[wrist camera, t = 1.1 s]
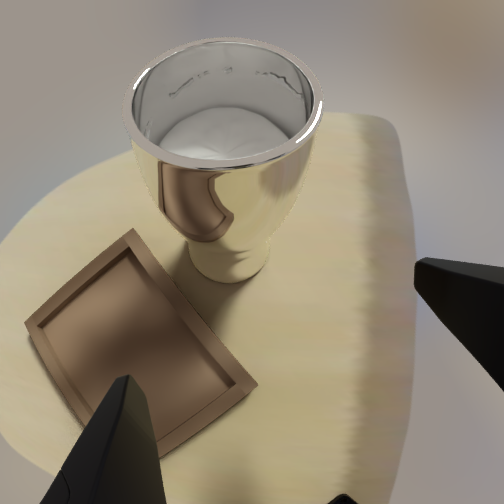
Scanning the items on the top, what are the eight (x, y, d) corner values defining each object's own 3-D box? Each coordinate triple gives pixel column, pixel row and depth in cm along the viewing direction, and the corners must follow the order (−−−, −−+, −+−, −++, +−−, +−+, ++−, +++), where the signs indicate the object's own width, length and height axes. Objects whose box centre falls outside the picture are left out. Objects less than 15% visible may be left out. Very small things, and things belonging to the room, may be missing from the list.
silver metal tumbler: (202, 304, 21) (138, 215, 7) (171, 220, 23) (106, 65, 9) (290, 268, 22) (372, 138, 8) (253, 190, 24) (273, 23, 10)
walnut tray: (256, 382, 20) (258, 385, 18) (134, 470, 17) (127, 477, 15) (139, 235, 23) (133, 227, 21) (35, 324, 20) (24, 322, 18)
